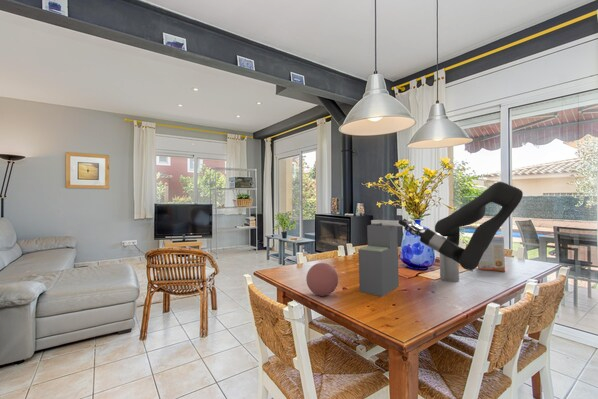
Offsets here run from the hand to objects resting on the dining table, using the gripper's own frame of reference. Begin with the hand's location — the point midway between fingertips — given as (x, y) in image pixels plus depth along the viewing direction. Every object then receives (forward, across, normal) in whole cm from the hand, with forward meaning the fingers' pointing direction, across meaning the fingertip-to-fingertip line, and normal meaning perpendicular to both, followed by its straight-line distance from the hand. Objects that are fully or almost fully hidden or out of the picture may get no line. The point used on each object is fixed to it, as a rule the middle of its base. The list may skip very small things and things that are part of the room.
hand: (401, 220), depth 141 cm
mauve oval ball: (+9, +28, +45) cm, 54 cm away
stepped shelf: (-8, +5, +35) cm, 36 cm away
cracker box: (-42, -69, +16) cm, 83 cm away
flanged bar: (+4, 0, +5) cm, 7 cm away
